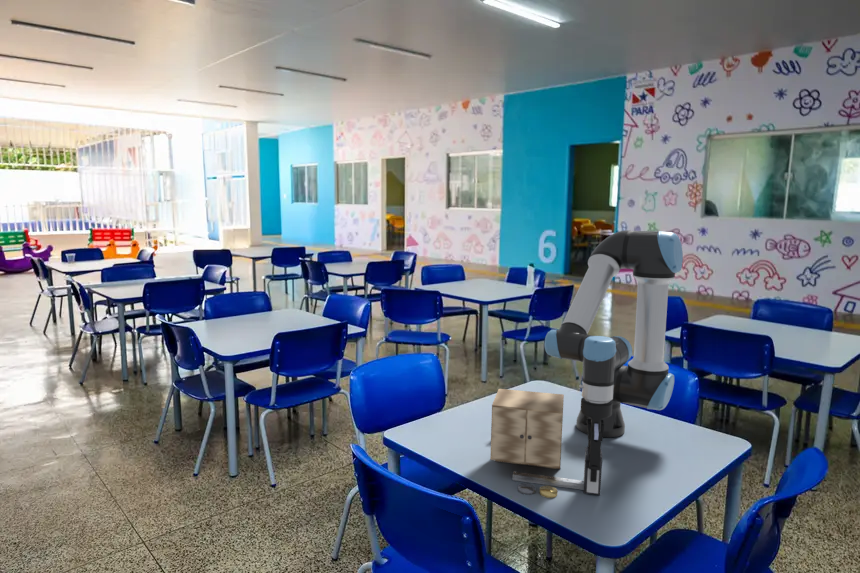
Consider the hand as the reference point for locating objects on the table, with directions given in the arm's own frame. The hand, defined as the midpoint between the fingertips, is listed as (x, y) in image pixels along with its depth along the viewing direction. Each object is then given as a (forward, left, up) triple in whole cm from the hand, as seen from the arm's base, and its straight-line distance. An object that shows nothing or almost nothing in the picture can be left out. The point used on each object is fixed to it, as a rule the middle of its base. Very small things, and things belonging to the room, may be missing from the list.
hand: (591, 486), depth 142 cm
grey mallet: (+9, 0, -1) cm, 9 cm away
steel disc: (+16, +5, -1) cm, 17 cm away
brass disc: (+11, +5, -1) cm, 12 cm away
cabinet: (+17, -6, -1) cm, 18 cm away
